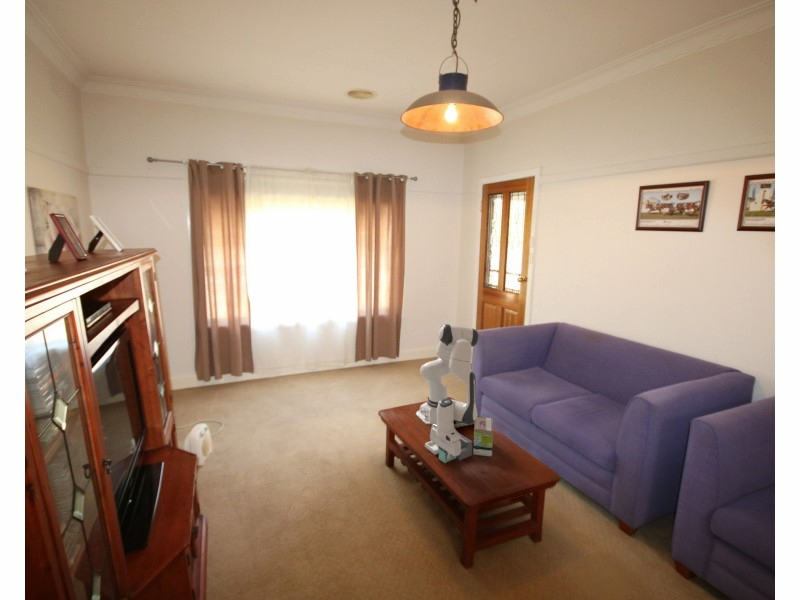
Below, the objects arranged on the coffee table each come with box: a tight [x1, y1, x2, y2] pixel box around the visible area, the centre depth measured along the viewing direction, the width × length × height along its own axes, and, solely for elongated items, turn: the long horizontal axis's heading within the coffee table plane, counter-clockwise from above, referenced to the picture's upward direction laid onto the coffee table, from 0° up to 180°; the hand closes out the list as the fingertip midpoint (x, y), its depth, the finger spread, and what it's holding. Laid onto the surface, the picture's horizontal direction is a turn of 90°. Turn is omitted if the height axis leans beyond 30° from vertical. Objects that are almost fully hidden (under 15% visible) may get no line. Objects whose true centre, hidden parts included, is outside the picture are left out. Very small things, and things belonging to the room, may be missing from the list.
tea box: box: [472, 416, 495, 457], centre depth 214 cm, size 15×10×15 cm, turn 168°
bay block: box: [457, 432, 473, 461], centre depth 210 cm, size 10×8×8 cm
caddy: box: [438, 446, 457, 464], centre depth 205 cm, size 5×8×7 cm, turn 125°
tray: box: [424, 440, 439, 455], centre depth 215 cm, size 9×11×2 cm
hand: (444, 455), depth 204 cm, fingers closed on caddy, 5 cm apart
